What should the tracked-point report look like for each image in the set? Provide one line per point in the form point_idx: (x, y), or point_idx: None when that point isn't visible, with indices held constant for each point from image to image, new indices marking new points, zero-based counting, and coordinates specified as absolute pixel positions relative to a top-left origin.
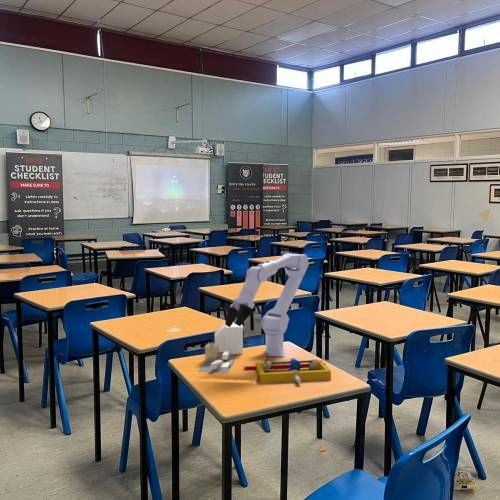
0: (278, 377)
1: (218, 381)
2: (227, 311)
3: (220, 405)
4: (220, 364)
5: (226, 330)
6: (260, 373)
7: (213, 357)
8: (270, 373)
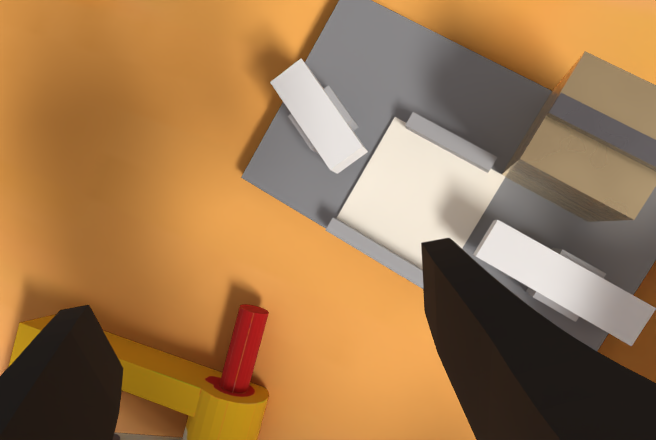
0: None
1: (168, 89)
2: (645, 399)
3: None
4: (307, 143)
5: None
6: (34, 329)
7: (520, 147)
8: None
